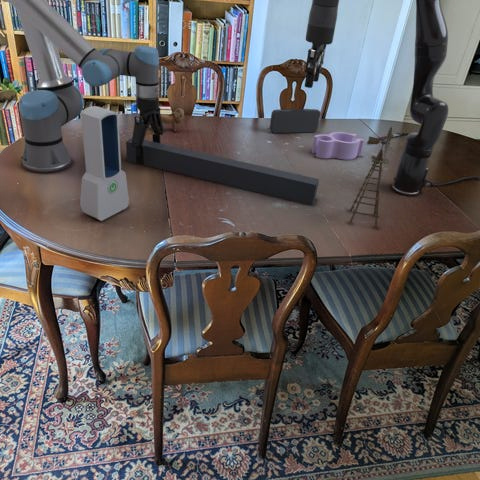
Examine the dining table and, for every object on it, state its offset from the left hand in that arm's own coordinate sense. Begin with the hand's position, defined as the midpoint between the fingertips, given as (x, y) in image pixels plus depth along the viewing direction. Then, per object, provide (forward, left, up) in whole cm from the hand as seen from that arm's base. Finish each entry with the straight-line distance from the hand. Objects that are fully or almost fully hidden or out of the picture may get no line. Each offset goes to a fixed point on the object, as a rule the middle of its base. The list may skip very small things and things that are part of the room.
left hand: (148, 157), depth 167 cm
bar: (+26, -6, -2) cm, 27 cm away
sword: (+95, +61, -2) cm, 113 cm away
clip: (+69, +33, -2) cm, 77 cm away
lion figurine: (-2, +35, -2) cm, 35 cm away
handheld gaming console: (+51, +53, -2) cm, 74 cm away
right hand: (+52, -11, +35) cm, 64 cm away
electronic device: (-2, -37, -2) cm, 37 cm away
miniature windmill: (+75, -20, -2) cm, 78 cm away
